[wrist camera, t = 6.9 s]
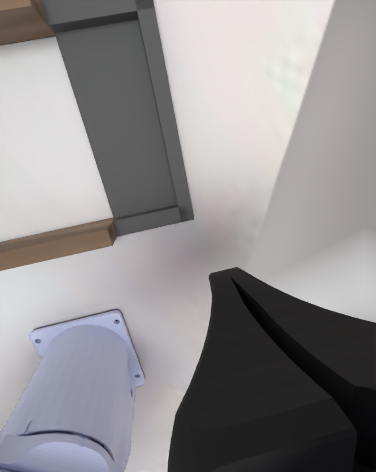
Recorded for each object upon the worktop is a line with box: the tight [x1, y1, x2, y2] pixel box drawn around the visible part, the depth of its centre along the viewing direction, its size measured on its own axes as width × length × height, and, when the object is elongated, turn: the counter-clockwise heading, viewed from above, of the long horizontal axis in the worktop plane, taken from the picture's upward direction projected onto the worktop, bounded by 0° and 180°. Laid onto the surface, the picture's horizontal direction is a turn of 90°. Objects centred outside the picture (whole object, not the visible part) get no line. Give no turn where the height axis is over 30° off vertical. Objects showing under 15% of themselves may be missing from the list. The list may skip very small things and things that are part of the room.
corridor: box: [0, 0, 117, 271], centre depth 14 cm, size 14×9×3 cm, turn 11°
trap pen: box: [40, 0, 194, 236], centre depth 15 cm, size 14×6×1 cm, turn 11°
